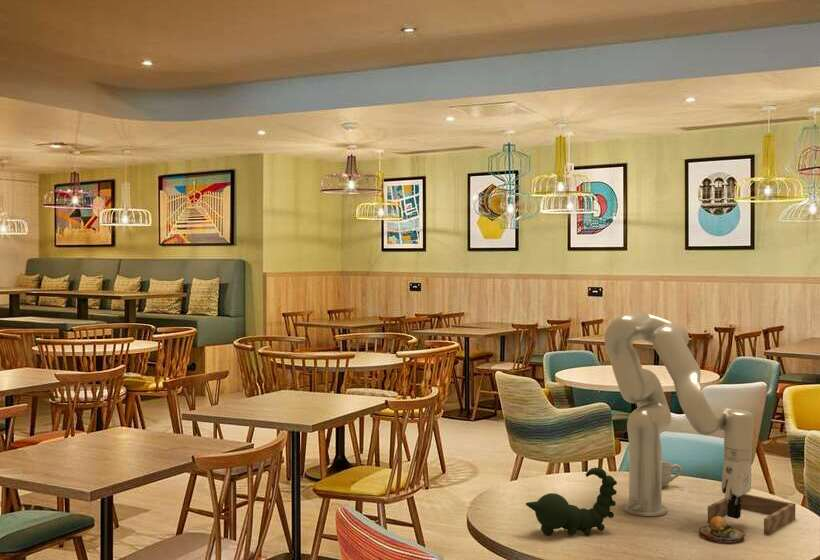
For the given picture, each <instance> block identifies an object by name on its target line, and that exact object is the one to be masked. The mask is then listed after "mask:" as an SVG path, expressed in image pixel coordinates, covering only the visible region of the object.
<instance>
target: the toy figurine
mask: <svg viewBox="0 0 820 560" xmlns="http://www.w3.org/2000/svg"><path fill="white" fill-rule="evenodd" d="M593 475H594V476H596V477H598V479H600V480H601V483H602V484H601V485H600V486H599V494H598V495H597V497H596V502H595V503H594V504H593V505H592V507H591V508H580V507H578V506H576V505H575V504H569V502H568V501H567V499H566V498H565V497H564V496H563V495H560V494H558V493H555V492H553V493H551V492H550V493H546V494H544V495H543V496H541V497H539V499H538V500H536V501H530V502H526V503H525V506H527V507H528V508H530V509H531V510H532V511H534V513H535V517H536V520H537V522H538V523H539V524H540V525H541V526H540V531H541V533H542V534H543V535H544V536H547V537H549V536H551V535H553V534H554V530H558V529H563V530H565V531H567V533H568V534H569V535H570V536H575V535H576V534H577V533H578V532H577V531H579V532H583V534H584V535H585V536H590V535H591V534H592V529H593V528H596V529H597V530H598V531H601V532H602V531H604V530H605V524H603V522H604V519H606V518H607V517H608V518H609V519H613V518H614V516H615V513H614V512H613V511H611V508H610V507H611V506H612V507H614V506H616V501H615V500H613V496H615V495H617V490H616V489H615V488H614V486H616V485H617V484H618V481H617V480H615V478H614V477H613V476H612V475H609V474H608V475H607V471H606V470H604V469H603V468H602V467H592V468H590V469H589V470H588V471H586V473H585V477H586V478H587V477H589V476H593Z"/></svg>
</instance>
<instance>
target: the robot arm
mask: <svg viewBox="0 0 820 560" xmlns="http://www.w3.org/2000/svg"><path fill="white" fill-rule="evenodd" d="M638 340H639V341H640V340H642V341H645V342H648V343H651V344H652V345H653V347H654V348H653V349H654V350H655V351H656V353H657V354H658V357H659V358H660V360H661V362H662V363H663V365H664V367H665V369H666V371H667V372H668V375H669V376H670V377H671V379H672V381H673V385H674V390H675V393H676V396H677V399H678V402H679V405H680V408H681V410H682V412H683V413H684V415H685V417H686V418H687V420H688V422H689V424H690V426H692V428H693V429H694V430H695V431H696V432H697V433H698V434H700V435H703V436H710V435H713V434H715V433H717V432H720V431H724V433H723V435H724V436H723V437H724V438H723V449H722V458H723V459H724V460H723V461H724V462H723V466H722V467H723V468H722V475H721V492H722V494H724V498H725V499H726V500H727V503H728V507H727V515H726V516H727V518H732V519H736V520H738V519H740V518H741V513H742V512H741V510H742V509H741V503H742V496H743V495H744V494H747V493H749V492H751V490H752V462H751V461H752V453H753V451H752V450H753V440H754V439H753V438H754V435H753V434H754V418H755V417H754V414H753V413H752V412H751V411H749V410H746V409H739V408H736V409H735V408H730V407H726V406H723V405H720V404H719V405H718V404H709V403H708V402H707V399H706V397H705V395H704V392H703V391H702V387H701V374H702V373H701V368H700V365H699V364H698V363H697V361H696V359H695V358H694V357H695V356H693V354H692V352H691V350H690V348H689V347H688V344H689V341H690V335H689V333H688V330H687V329H686V328H685V327H684V326H683V325H681V324H679V323H676V322H674V321H671V320H668V319H665V318H662V317H659V316H656V315H653V314H652V313H651V314H650V313H647V312H643V311H636V312H635V311H634V312H629V313H624V314H621V315H619V316H617V317H615V318H614V319H613V320H612V321H611V322H610V324H609V325H608V326H607V328H606V330H605V333H604V347H605V350H606V353H607V356H608V359H609V362H610V365H611V367H612V368H611V369H612V371H613V374H614V377H615V380H616V385H617V386H618V389H619V390H618V391H619V392H620V395H621V397H622V398H623V400H624V401H626V402H628V403H629V404H636V406H637V407H636V409H634V410H633V411H632V412H631V413H630V414H629V415H628V417H627V421H626V430H627V437H628V458H629V459H628V463H629V464H628V468H629V469H628V472H629V473H628V501H627V502H625V503H623V504H622V508H623V510H624V511H625V512H626V513H629V514H631V515H636V516H640V517H660V516H663V515H666V514H667V511H668V509H667V506H665V505H664V504H662V498H663V497H662V494H663V493H662V490H663V487H662V461H663V458H662V456H663V453H662V443H661V441H662V440H661V434H662V433H663V432H665V431H666V430H667V429H669V427H670V426H671V422H672V414H671V410H670V409H671V408H670V407H669V404H668V401H667V398H666V396H665V392H664V389H663V387H662V384H661V382H660V380H659V378H658V377H657V375H656V374H655V373H654V372H653V371H651V370H649V369H645V368H643V366H642V363H641V360H640V357H639V355H638V353H637V350H636V349H635V347H634V345H633V344H634V343H633V342H635V341H638ZM739 503H740V504H739Z"/></svg>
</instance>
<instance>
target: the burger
mask: <svg viewBox="0 0 820 560" xmlns="http://www.w3.org/2000/svg"><path fill="white" fill-rule="evenodd" d="M714 514H715V513H714ZM727 523H728V522H727V520H726V518H724V516H723V517H721V516H715V517H713V518H712V519H711V520H710V522H709V524H708V525H703V526H701V527H699V529H698V530H699V531H698V535H699V538H701V539H703V540H704V541H707V542H710V543H713V544H715V543H716V544H722V545H736V544H738V545H739V544H740V543H744V540H745V538H744V537H745V536H746V534H745V532H744V531H742V530H741V529H738V528H737V527H733V526H731V525H729V524H727Z"/></svg>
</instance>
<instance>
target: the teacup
mask: <svg viewBox="0 0 820 560" xmlns="http://www.w3.org/2000/svg"><path fill="white" fill-rule="evenodd" d="M675 468H677V469H678V471H677V473H675V474H674V475H672V472H673V469H675ZM682 471H683V470H682V467H681V465H679V464H678V463H677V464H676V463H674V464H672V463H671V462H670V461H669V462H668V461H664V460H662V488H666V486H667V485H668V484H670V483H671V482H673V480H675V479H676V478H678V477H679V476H680V475H681V474H682Z"/></svg>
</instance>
